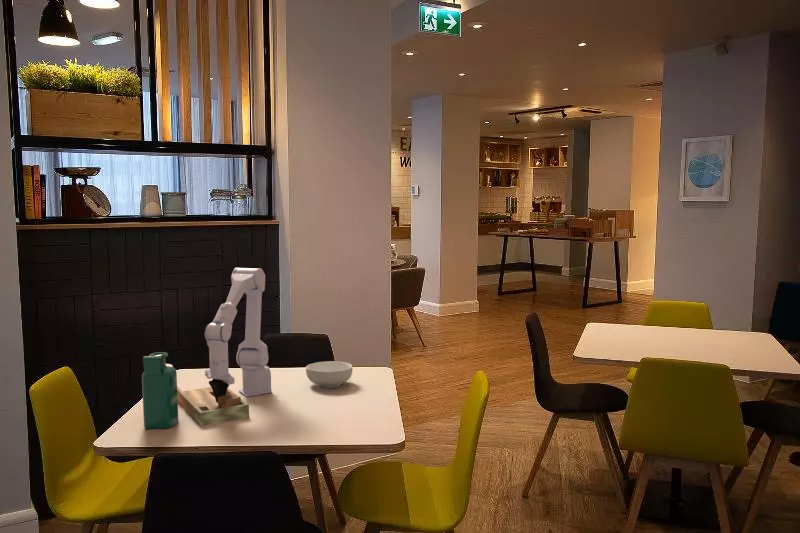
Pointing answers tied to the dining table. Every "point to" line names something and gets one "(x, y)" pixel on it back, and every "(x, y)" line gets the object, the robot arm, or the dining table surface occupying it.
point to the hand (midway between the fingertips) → (220, 402)
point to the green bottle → (159, 392)
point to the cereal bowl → (329, 373)
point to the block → (228, 401)
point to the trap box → (210, 406)
